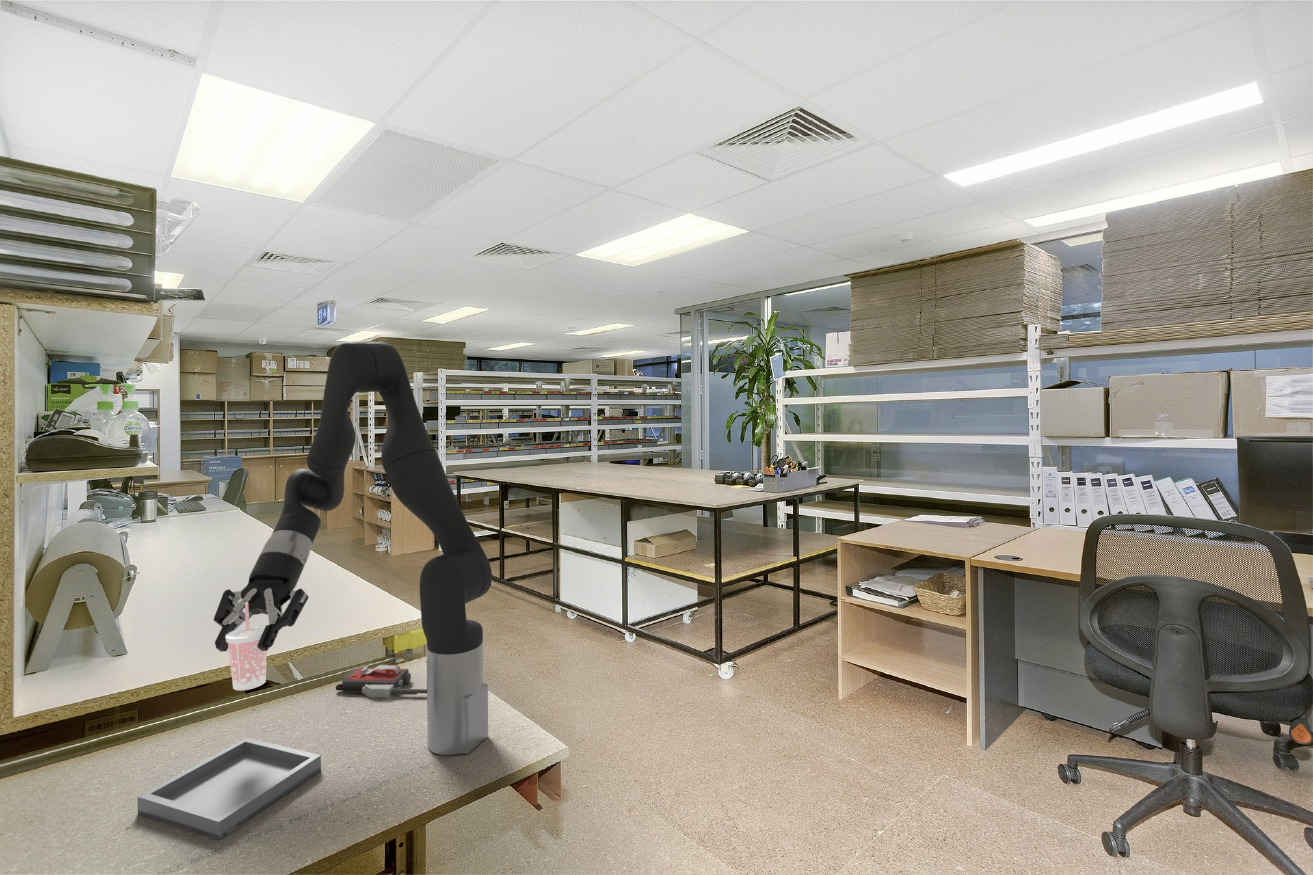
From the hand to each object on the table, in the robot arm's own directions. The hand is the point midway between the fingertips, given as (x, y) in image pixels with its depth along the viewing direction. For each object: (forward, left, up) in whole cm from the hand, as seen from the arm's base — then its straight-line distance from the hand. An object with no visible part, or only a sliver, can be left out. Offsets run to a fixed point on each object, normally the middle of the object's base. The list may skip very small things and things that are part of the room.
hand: (241, 649), depth 97 cm
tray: (-8, +8, -18) cm, 21 cm away
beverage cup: (0, -2, -7) cm, 7 cm away
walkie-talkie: (-6, -26, -18) cm, 33 cm away
